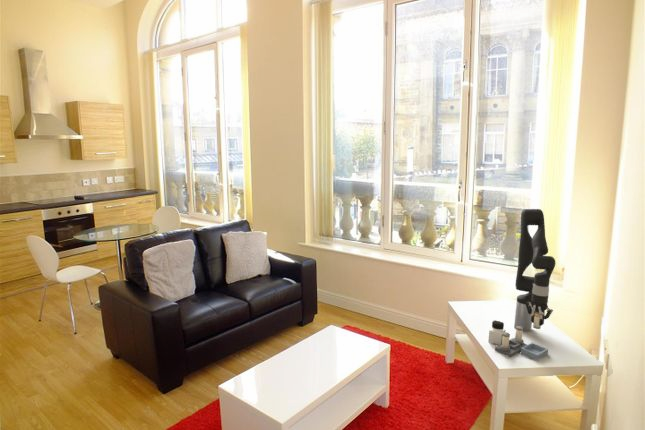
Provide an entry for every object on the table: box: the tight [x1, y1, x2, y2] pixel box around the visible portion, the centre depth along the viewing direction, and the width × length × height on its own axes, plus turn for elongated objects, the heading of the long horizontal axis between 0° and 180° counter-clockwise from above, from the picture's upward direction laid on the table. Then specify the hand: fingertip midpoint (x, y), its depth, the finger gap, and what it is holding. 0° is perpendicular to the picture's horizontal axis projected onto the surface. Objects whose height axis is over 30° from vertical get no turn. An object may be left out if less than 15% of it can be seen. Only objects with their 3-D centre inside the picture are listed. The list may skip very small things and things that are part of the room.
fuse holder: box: [494, 326, 528, 358], centre depth 225 cm, size 18×9×11 cm, turn 125°
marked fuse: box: [532, 311, 542, 330], centre depth 217 cm, size 4×4×9 cm
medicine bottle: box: [488, 319, 506, 346], centre depth 234 cm, size 7×7×12 cm
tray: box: [519, 342, 549, 362], centre depth 221 cm, size 11×9×3 cm
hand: (537, 323), depth 218 cm, fingers closed on marked fuse, 3 cm apart
